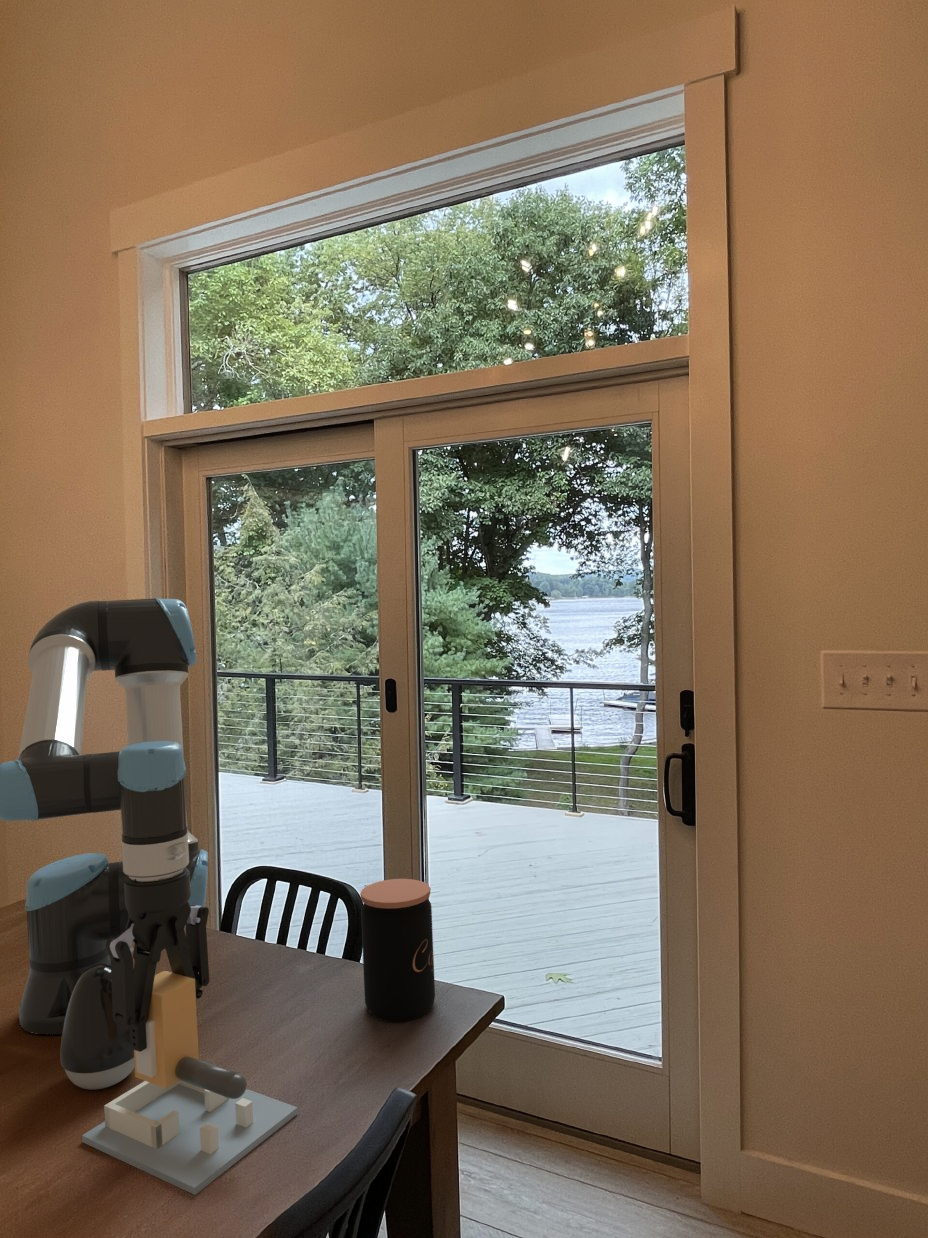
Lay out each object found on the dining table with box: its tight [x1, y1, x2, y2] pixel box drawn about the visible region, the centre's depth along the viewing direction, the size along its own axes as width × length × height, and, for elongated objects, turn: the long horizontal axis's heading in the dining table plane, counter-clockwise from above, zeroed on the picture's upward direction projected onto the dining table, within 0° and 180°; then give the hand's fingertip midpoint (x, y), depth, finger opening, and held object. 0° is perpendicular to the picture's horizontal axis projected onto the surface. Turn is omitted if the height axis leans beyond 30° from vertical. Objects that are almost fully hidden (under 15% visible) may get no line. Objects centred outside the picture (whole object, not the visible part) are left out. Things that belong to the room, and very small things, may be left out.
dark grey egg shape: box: [59, 964, 135, 1090], centre depth 114 cm, size 10×10×15 cm
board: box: [81, 1080, 299, 1196], centre depth 103 cm, size 19×16×3 cm
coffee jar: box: [359, 878, 436, 1023], centre depth 131 cm, size 11×11×18 cm
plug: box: [134, 970, 248, 1099], centre depth 102 cm, size 16×5×11 cm, turn 59°
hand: (166, 1061), depth 104 cm, fingers closed on plug, 5 cm apart
